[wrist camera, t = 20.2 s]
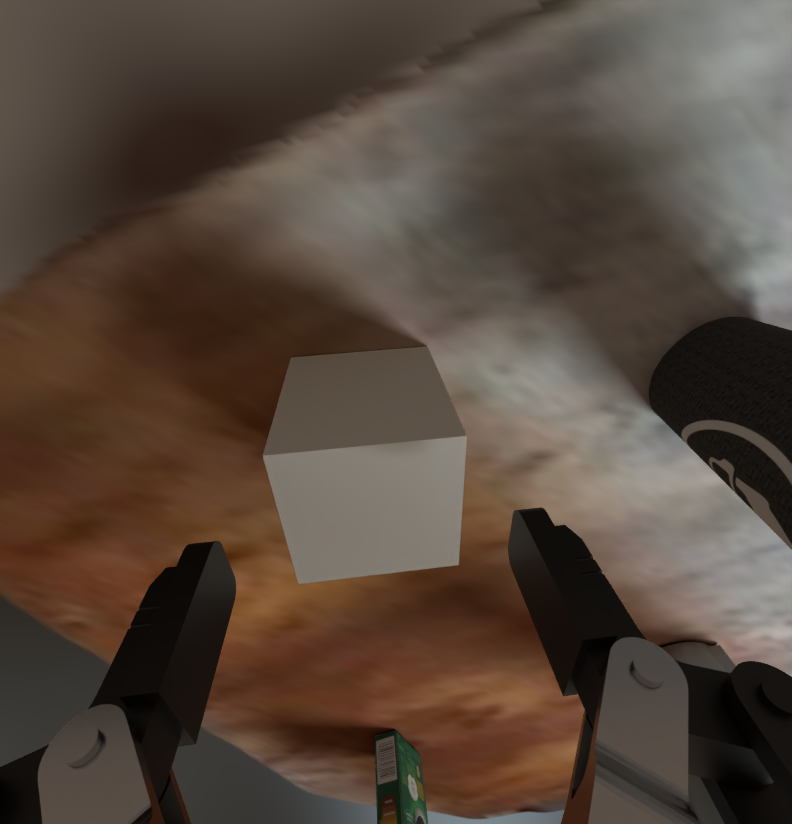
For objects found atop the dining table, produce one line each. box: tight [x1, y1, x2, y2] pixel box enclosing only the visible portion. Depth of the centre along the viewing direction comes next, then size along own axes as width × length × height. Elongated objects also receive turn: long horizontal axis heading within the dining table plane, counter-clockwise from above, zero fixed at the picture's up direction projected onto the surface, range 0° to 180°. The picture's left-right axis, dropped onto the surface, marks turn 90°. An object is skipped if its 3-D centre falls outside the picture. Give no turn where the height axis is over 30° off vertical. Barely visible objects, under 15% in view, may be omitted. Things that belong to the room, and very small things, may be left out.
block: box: [263, 346, 467, 584], centre depth 18 cm, size 7×7×8 cm
